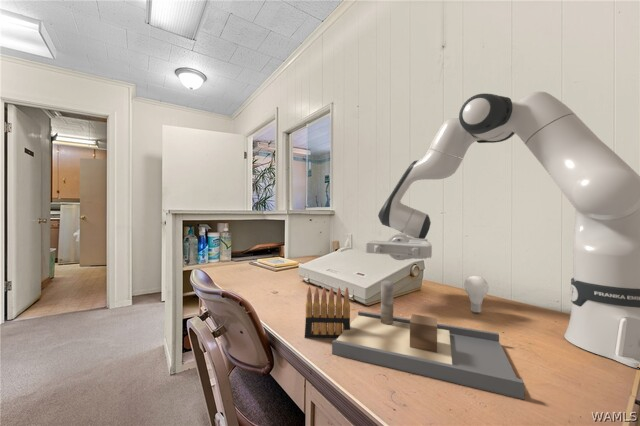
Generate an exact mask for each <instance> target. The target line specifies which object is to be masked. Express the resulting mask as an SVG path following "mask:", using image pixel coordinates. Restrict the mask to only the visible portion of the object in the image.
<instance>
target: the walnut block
mask: <svg viewBox="0 0 640 426" xmlns="http://www.w3.org/2000/svg"><path fill="white" fill-rule="evenodd" d="M410 319H411V320H410V347H411V348H416V349H421V350H426V351H431V352H436V353H437V323H438V317H433V316H427V315H421V314H420V315H419V314H413V313H412V314H411V318H410Z"/></svg>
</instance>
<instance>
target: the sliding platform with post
mask: <svg viewBox="0 0 640 426" xmlns="http://www.w3.org/2000/svg"><path fill="white" fill-rule="evenodd" d="M380 314H381V319H377V318H371V317H365V316H359V315H358V314H357V315H356V316H355V317H354V319H353V320H352V321H350V330H344V331H343V330H342V332H343V333H342V334H341V335H340V336H339V337H338V338H337V339H336V340H338V341H343V342H348V343H352V344H357V345H362V346H367V347H371V348H376V349H381V350H385V351H390V352H395V353H399V354H404V355H409V356H414V357H418V358H423V359H428V360H432V361H437V362H442V363H446V364H451V365H452V356H451V345H450V334H449V330H443V329H437V353H436V352H431V351H426V350H421V349H416V348H411V347H410V324H407V323H401V322H395V321H393V316H394V282H393V281H391V280H381V281H380Z"/></svg>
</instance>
